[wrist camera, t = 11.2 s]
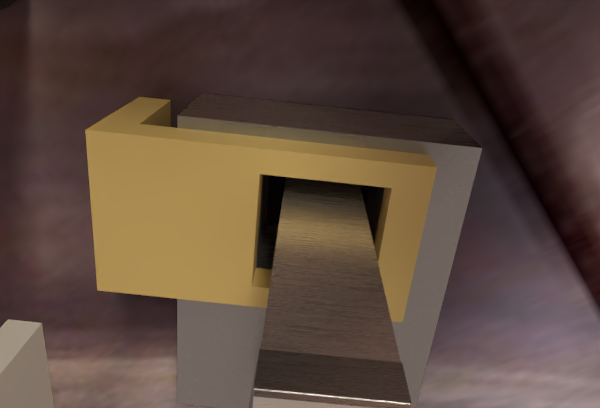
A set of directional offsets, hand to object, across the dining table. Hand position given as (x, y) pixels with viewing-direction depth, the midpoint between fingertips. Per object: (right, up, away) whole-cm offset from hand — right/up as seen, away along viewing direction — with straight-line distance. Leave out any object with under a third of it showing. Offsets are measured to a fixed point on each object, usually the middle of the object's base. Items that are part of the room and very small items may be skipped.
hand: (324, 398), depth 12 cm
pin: (0, +5, +14) cm, 15 cm away
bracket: (-2, +6, +14) cm, 15 cm away
